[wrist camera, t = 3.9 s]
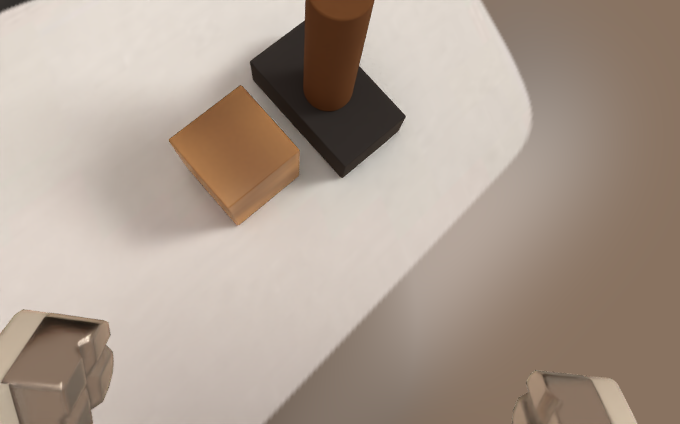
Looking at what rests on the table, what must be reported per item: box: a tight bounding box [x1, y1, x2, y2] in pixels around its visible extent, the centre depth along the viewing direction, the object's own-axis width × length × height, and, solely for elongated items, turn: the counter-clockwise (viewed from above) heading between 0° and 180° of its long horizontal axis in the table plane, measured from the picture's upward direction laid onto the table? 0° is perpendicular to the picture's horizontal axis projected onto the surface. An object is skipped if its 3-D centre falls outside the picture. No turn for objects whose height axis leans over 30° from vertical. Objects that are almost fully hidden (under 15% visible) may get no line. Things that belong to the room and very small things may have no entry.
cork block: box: [169, 85, 300, 226], centre depth 25 cm, size 4×4×4 cm
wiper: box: [250, 0, 406, 178], centre depth 24 cm, size 4×7×10 cm, turn 41°
